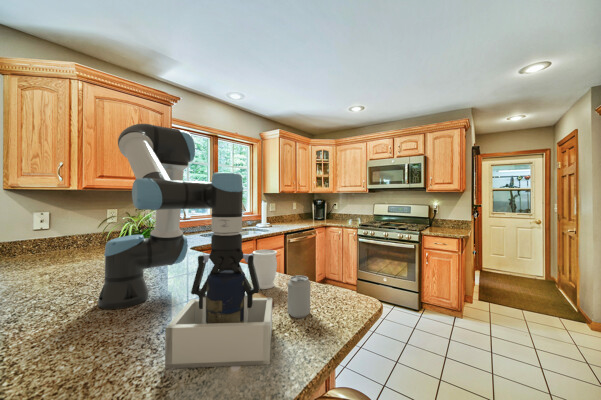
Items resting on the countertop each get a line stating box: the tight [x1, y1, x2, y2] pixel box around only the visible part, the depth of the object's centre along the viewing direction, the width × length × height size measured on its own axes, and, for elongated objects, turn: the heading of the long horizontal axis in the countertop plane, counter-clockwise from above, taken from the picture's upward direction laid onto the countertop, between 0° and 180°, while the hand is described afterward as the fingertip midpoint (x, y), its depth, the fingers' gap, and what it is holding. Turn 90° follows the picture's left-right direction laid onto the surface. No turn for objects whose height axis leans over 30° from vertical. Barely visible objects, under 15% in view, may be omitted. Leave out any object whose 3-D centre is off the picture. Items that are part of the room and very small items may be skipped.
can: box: [287, 274, 311, 319], centre depth 83 cm, size 8×8×12 cm
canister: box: [206, 270, 246, 324], centre depth 64 cm, size 10×10×18 cm
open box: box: [164, 297, 273, 370], centre depth 64 cm, size 23×16×9 cm
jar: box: [252, 249, 278, 290], centre depth 109 cm, size 11×10×15 cm
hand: (226, 320), depth 64 cm, fingers closed on canister, 9 cm apart
